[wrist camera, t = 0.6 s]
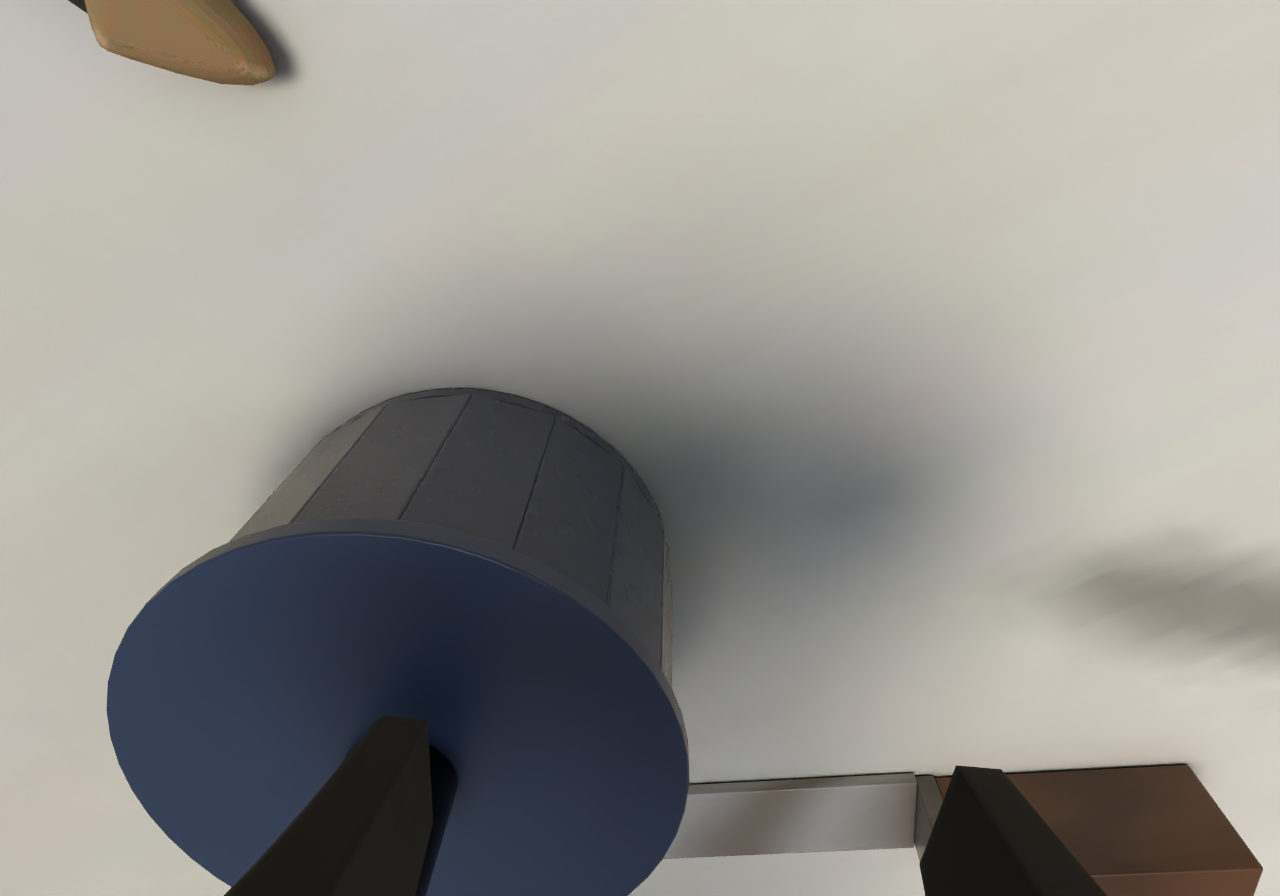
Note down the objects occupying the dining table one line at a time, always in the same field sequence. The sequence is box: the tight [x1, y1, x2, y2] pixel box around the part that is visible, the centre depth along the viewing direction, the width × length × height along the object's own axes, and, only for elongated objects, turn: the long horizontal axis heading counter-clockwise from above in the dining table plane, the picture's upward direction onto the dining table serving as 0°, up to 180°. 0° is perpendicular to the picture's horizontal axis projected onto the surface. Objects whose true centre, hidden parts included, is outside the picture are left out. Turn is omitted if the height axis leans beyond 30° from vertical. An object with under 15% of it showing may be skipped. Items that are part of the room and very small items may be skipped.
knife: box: [663, 765, 1263, 896], centre depth 23 cm, size 19×3×3 cm, turn 97°
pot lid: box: [107, 517, 689, 896], centre depth 14 cm, size 11×11×4 cm
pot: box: [229, 389, 672, 688], centre depth 18 cm, size 10×10×6 cm
